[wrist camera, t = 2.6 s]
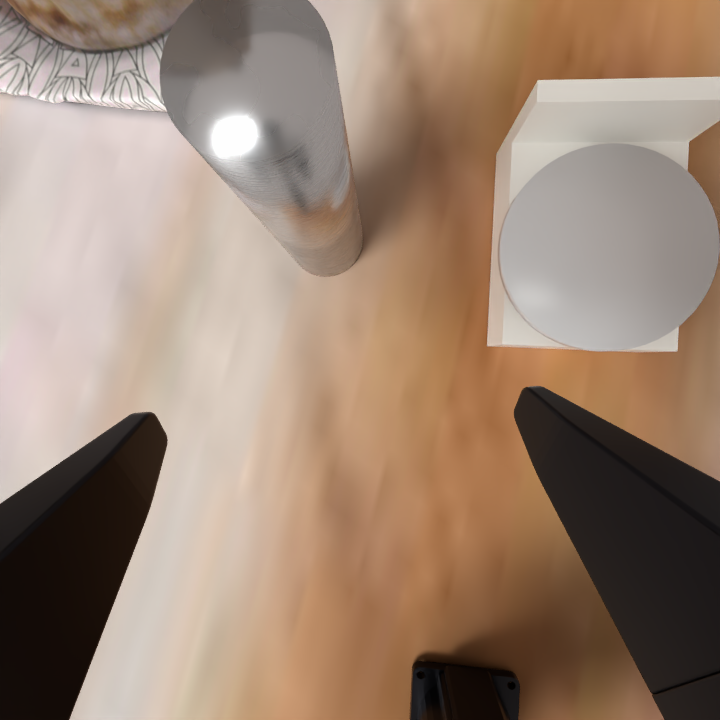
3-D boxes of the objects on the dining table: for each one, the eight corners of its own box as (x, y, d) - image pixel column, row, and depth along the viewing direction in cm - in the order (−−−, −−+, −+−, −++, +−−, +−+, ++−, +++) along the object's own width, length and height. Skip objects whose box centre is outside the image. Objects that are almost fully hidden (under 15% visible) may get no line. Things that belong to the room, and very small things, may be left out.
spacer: (361, 277, 20) (330, 159, 8) (288, 275, 20) (156, 160, 8) (364, 203, 20) (338, -26, 8) (291, 202, 20) (162, -18, 8)
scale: (650, 356, 19) (752, 355, 14) (475, 348, 20) (508, 345, 14) (661, 147, 19) (768, 68, 14) (485, 148, 19) (522, 72, 14)
